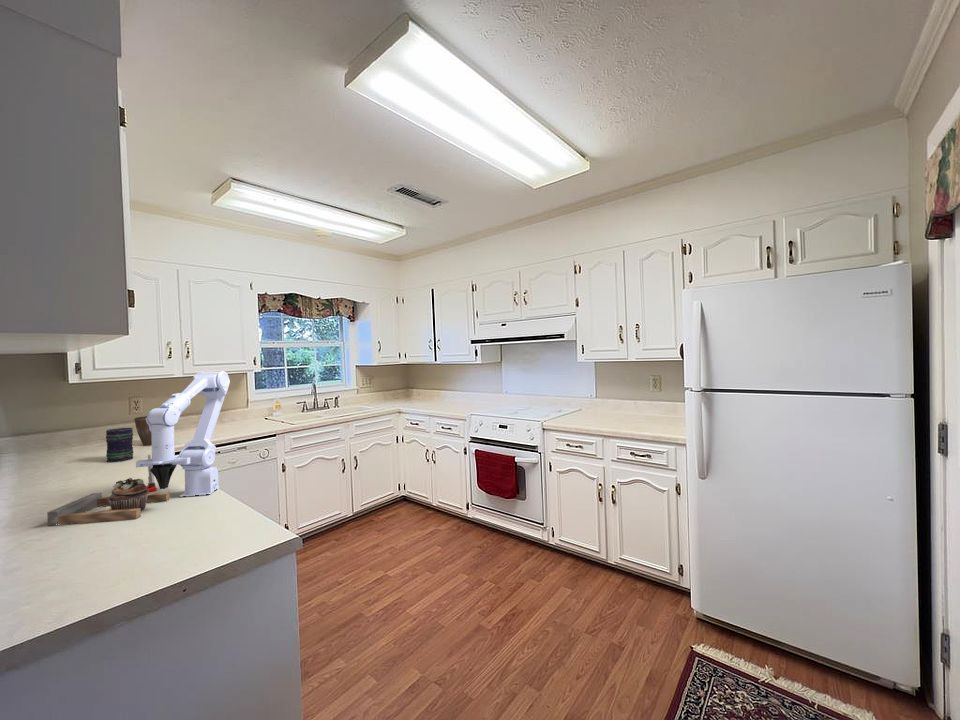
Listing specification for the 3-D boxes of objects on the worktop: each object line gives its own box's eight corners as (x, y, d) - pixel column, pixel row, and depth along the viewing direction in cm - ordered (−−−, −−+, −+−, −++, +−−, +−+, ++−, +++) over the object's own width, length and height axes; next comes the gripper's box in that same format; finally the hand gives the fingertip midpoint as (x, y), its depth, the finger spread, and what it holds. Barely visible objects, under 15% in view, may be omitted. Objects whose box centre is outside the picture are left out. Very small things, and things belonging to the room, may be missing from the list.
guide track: (169, 499, 136) (169, 487, 136) (136, 518, 120) (136, 505, 120) (93, 505, 132) (93, 493, 132) (47, 526, 116) (47, 512, 116)
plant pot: (174, 441, 240) (173, 415, 240) (150, 447, 225) (150, 418, 225) (152, 441, 242) (152, 415, 242) (127, 447, 228) (127, 418, 228)
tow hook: (125, 499, 139) (158, 491, 146) (122, 462, 138) (155, 456, 146) (118, 495, 144) (151, 487, 151) (115, 459, 143) (148, 453, 151)
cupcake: (156, 504, 132) (155, 474, 132) (131, 516, 122) (130, 483, 122) (127, 505, 132) (126, 474, 132) (99, 517, 122) (98, 484, 122)
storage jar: (111, 458, 199) (111, 428, 199) (136, 456, 203) (136, 427, 203) (102, 463, 190) (101, 431, 190) (128, 461, 194) (128, 430, 194)
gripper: (128, 449, 123) (129, 493, 123) (181, 446, 126) (182, 490, 126) (143, 444, 130) (144, 486, 130) (193, 442, 133) (194, 483, 133)
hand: (164, 488), depth 128 cm, fingers closed
